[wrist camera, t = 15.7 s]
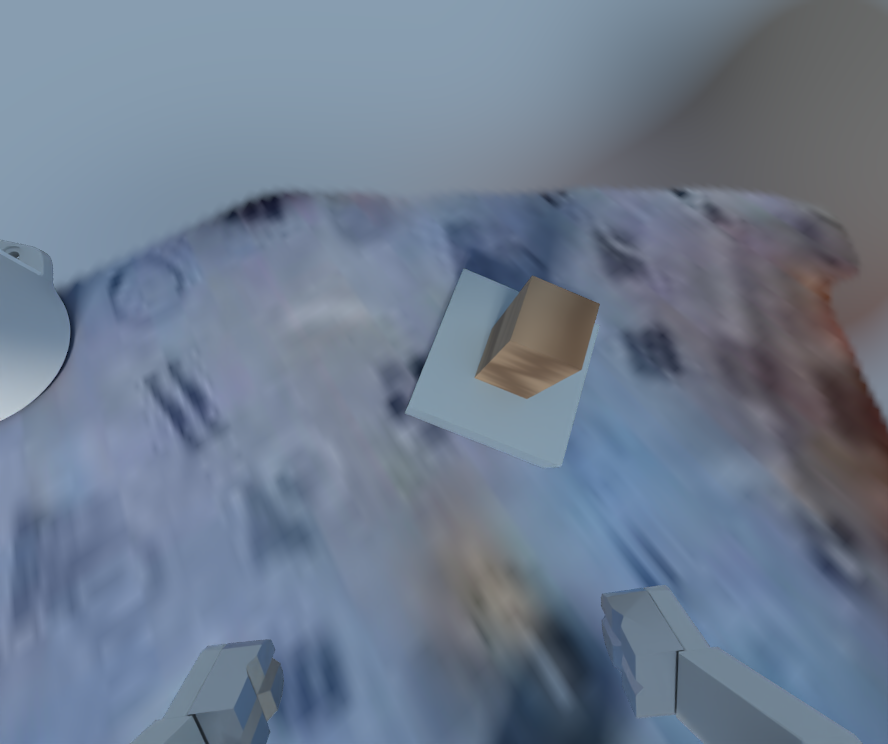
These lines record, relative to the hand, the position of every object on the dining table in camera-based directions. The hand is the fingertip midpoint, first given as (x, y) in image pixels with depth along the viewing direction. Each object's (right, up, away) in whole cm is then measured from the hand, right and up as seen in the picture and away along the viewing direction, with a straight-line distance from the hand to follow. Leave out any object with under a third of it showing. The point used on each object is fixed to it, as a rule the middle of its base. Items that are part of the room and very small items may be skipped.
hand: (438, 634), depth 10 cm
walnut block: (+6, +7, +26) cm, 28 cm away
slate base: (+5, +6, +30) cm, 31 cm away
